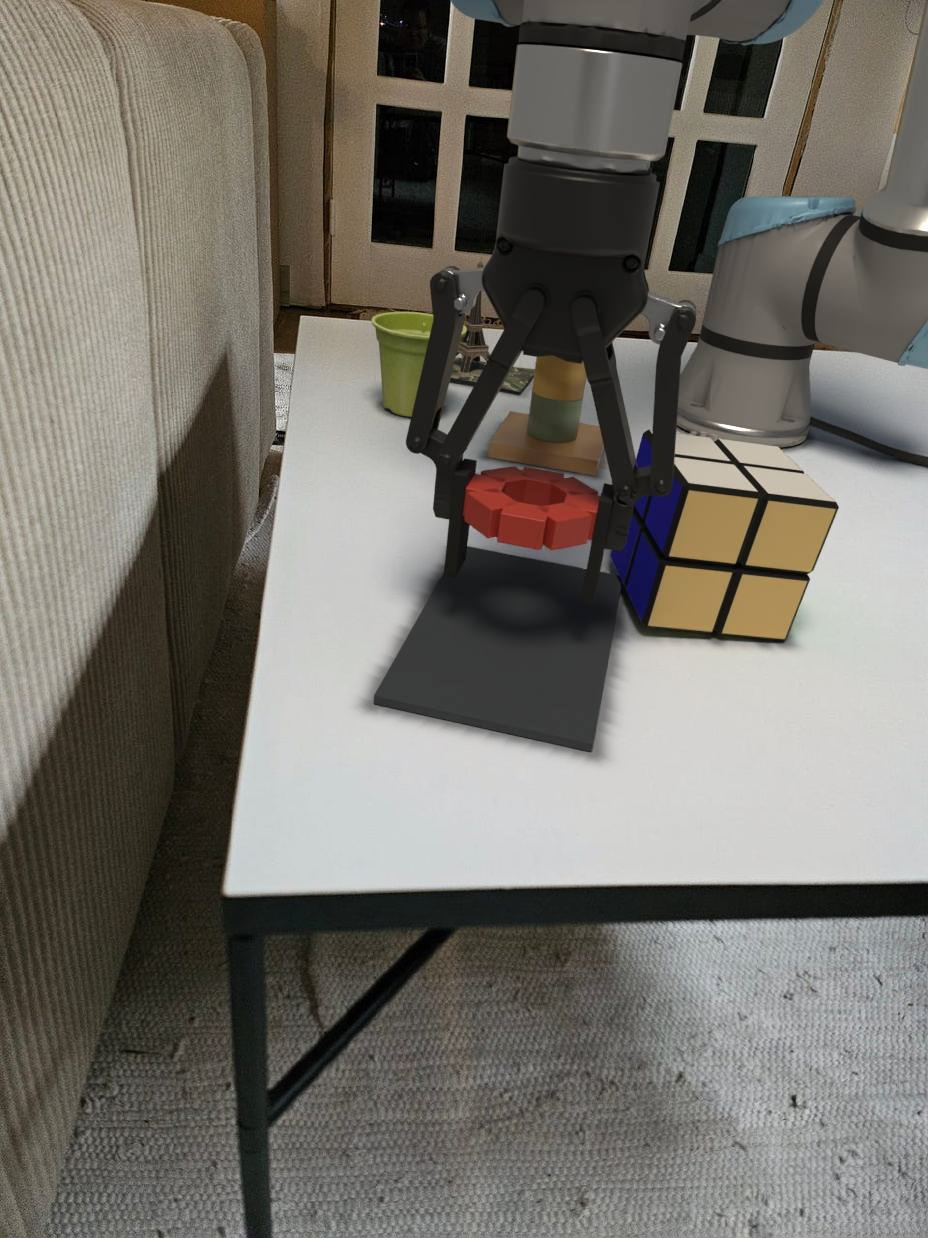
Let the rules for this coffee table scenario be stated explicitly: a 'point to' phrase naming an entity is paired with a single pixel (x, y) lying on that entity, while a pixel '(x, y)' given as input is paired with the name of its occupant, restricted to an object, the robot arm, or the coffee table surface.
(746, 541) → the puzzle cube
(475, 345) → the eiffel tower figurine
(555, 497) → the red ring
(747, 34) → the robot arm
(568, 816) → the coffee table surface
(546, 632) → the slate mat
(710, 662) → the coffee table surface
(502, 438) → the stack tower
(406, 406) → the plant pot
